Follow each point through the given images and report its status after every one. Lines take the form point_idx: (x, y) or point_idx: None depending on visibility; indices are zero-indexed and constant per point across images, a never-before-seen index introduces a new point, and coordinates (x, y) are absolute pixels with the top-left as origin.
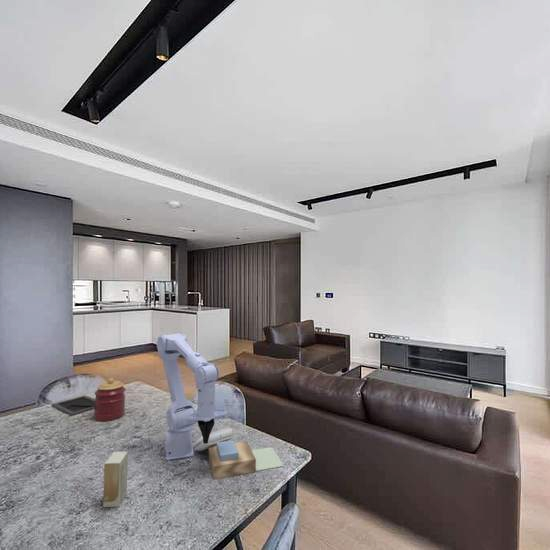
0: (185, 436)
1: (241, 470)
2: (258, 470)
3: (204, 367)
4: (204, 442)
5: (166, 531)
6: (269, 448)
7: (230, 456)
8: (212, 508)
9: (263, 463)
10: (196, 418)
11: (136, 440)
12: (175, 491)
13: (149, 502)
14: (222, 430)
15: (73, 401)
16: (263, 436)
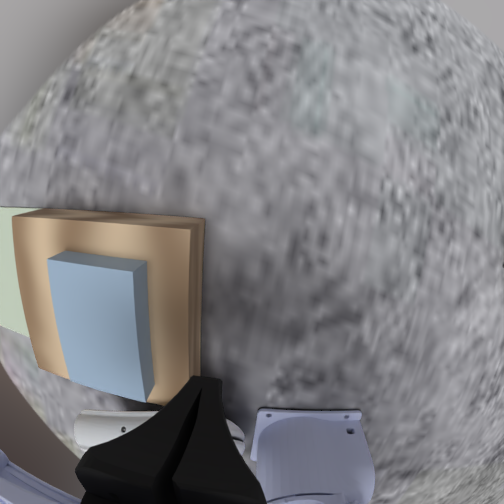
0: (295, 477)
1: (79, 212)
2: (34, 208)
3: None
4: (214, 383)
5: (413, 17)
6: (3, 322)
7: (88, 260)
8: (253, 34)
9: None
10: None
11: (390, 491)
12: (381, 199)
13: (464, 178)
14: None
15: None
16: (24, 391)
